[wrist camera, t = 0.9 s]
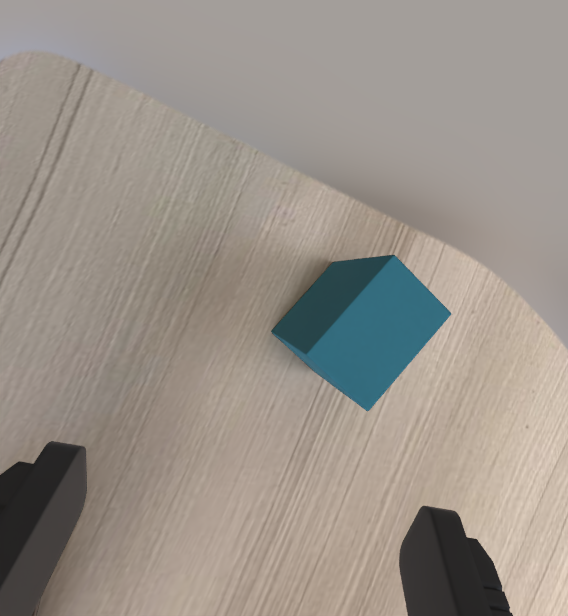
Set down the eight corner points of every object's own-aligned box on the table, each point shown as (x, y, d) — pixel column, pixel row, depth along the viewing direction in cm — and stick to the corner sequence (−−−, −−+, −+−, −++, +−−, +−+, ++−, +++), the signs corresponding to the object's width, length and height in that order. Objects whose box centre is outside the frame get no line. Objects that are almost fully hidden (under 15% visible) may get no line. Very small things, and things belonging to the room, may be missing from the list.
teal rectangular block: (270, 331, 29) (305, 354, 20) (333, 261, 29) (394, 254, 21) (315, 372, 30) (368, 412, 21) (376, 303, 30) (452, 313, 21)
